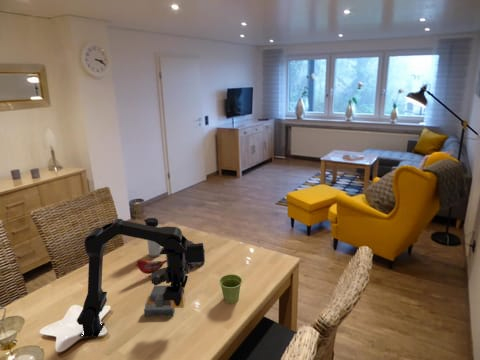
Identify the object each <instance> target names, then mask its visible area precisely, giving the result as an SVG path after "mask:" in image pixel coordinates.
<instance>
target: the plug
mask: <svg viewBox="0 0 480 360" xmlns="http://www.w3.org/2000/svg"><path fill="white" fill-rule="evenodd" d="M185 287H186V286H185ZM185 287H182V288H183V290H184V293H183V296H182V299H181V302H180V305H179V306H176V305H175V303H174V301H173V300H168V301H164V300H163V294H158V295H157V297H156V300H155V301H154V302H155V305H156V307H163V306H171V308H175V309H176V308H177V309H179V308H180V309H183V308H184V307H185V303H186V291H185Z"/></svg>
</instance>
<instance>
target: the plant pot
mask: <svg viewBox="0 0 480 360" xmlns="http://www.w3.org/2000/svg"><path fill="white" fill-rule="evenodd" d="M218 282H219V283H218V284H219V285H220V287H221V292H222V296H223V301H224V302H225V303H227V304H233V303H237V302H238V301H239V299H240V291H241V286H242V284H243V278H242V277H241V276H240V275H238V274H235V273H232V274H231V273H229V274H224V275H223V276H221V277H220V278H219V280H218Z"/></svg>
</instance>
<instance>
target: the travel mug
mask: <svg viewBox="0 0 480 360" xmlns="http://www.w3.org/2000/svg"><path fill="white" fill-rule="evenodd" d="M144 222H145V225H148V226H152V227H160V226H159V219H157V218H154V217H148V218H146V219H144ZM146 241H147V248H148V255H149V257H150V258H158V257H160V256H162V254H160V251H161V248H162V246H160V245H159V244H157V243H156V242H153V241H150V240H146Z"/></svg>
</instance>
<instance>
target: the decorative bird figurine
mask: <svg viewBox="0 0 480 360" xmlns="http://www.w3.org/2000/svg"><path fill="white" fill-rule="evenodd" d="M165 263H167V259H164V260H148V261H147V260H145V259H138V260H137V261H136V264H135V266H134V267H137V269H138V270H139V271H140V272H141V273H143V274H147V275H148V276H146V278H151V277H152V274H153V272H154V271H156V270H159V269H161V268H163V266H164V264H165ZM149 274H150V275H149Z"/></svg>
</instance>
